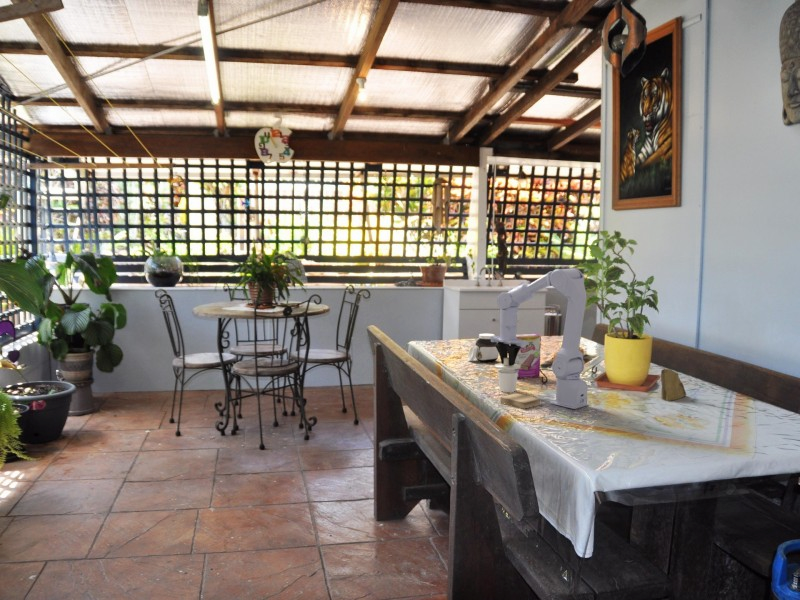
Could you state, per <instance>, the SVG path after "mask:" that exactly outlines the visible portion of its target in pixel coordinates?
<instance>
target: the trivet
mask: <svg viewBox="0 0 800 600" xmlns="http://www.w3.org/2000/svg"><path fill="white" fill-rule="evenodd" d="M499 400H500V401H499V402H500V404H502V403H505V404H504V405H506V404H508V405H507V406H510V405H512V407H514V406H516V408H518V407H521V408H520V409H522V408H524V409H523V410H526V409H525V408H527V409H530V408H533V406H534V407H537V406H540V405H541V398H538V397H535V396H531V395H526V394H521V393H518V392H517V393H516V392H513V393H511V394H508V395H507V394H506V395H504V396H500V399H499ZM529 407H530V408H529Z"/></svg>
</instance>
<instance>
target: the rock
mask: <svg viewBox="0 0 800 600" xmlns="http://www.w3.org/2000/svg"><path fill="white" fill-rule="evenodd" d="M660 381H661V393H660V395H661V396H660V397H661V399H663V400H664V401H665V402H670V401H677V400H679V399H682V398H683V397H686V396H687V392H686V390H685V386H684V384H683V382H682V381H681V379H680V377H679V373H678V372H675V371H674V370H672V369H670V368H663V369H662V370H661V371H660Z"/></svg>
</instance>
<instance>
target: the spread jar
mask: <svg viewBox="0 0 800 600" xmlns="http://www.w3.org/2000/svg"><path fill="white" fill-rule="evenodd" d="M491 336H496V335H495V334H494V333H479V334H478V339H477V340H476V341H475V345H471V347H470V348H469V350H468V354H467V361H469V362H473V361H474V360H475V359H476V360H477V361H478V362H479V361H480V362H479V363H483V362H491V363H495V362H496V361H497V360H498V359H499V356H500V355H499V352H498V350H497V348H496V347H495V345H496V344H498V342H491Z"/></svg>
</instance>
